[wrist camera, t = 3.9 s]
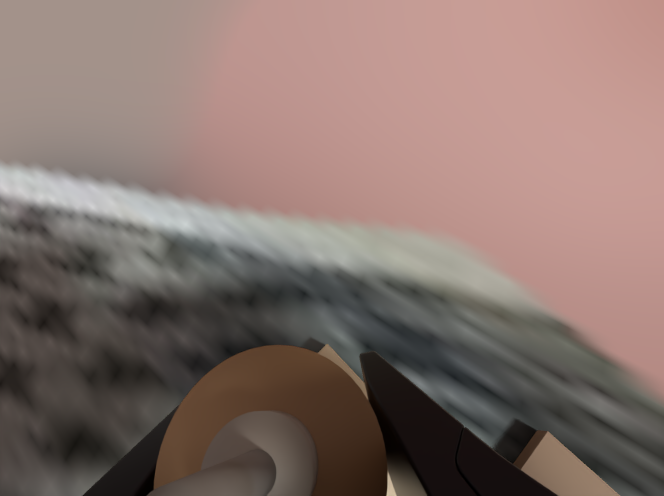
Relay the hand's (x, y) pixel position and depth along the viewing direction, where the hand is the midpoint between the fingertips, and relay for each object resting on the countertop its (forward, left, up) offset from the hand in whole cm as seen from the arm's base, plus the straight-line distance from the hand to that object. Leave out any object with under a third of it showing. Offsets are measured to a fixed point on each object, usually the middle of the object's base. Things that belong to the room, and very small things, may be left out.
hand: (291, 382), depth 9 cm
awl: (-1, -1, -7) cm, 7 cm away
